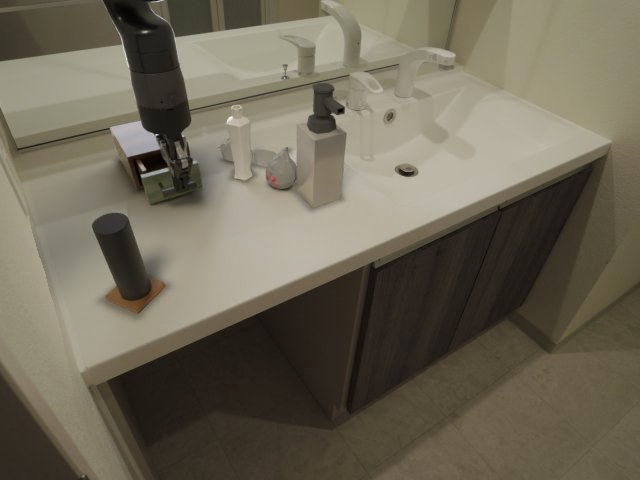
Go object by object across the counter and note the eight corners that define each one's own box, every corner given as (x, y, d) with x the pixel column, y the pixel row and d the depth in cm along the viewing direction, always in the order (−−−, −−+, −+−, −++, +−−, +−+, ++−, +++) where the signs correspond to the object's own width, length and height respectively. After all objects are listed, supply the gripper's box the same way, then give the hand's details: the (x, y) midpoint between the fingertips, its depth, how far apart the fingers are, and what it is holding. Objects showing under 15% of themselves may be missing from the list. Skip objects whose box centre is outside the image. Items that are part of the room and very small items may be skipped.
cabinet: (194, 174, 87) (188, 142, 82) (137, 190, 82) (127, 157, 77) (172, 146, 95) (165, 115, 90) (120, 159, 90) (109, 127, 85)
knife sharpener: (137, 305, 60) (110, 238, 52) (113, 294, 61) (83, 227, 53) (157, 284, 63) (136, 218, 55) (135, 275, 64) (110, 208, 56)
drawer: (211, 199, 80) (206, 173, 76) (156, 216, 75) (148, 189, 71) (181, 159, 90) (176, 134, 86) (131, 172, 85) (123, 147, 81)
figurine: (257, 186, 85) (255, 152, 79) (281, 173, 89) (281, 139, 84) (280, 200, 82) (279, 164, 76) (304, 185, 86) (305, 151, 80)
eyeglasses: (218, 159, 92) (217, 142, 89) (232, 144, 98) (231, 128, 96) (279, 169, 90) (279, 152, 88) (289, 153, 96) (289, 137, 94)
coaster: (137, 314, 60) (136, 310, 59) (106, 299, 62) (104, 296, 61) (165, 286, 64) (164, 282, 64) (135, 273, 66) (133, 270, 65)
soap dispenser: (318, 215, 79) (324, 103, 64) (296, 191, 84) (296, 82, 70) (347, 205, 81) (358, 95, 67) (323, 182, 87) (329, 76, 72)
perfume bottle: (258, 171, 89) (253, 104, 79) (248, 182, 86) (242, 113, 76) (238, 167, 90) (231, 100, 80) (228, 177, 87) (220, 109, 77)
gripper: (124, 84, 65) (150, 177, 77) (148, 118, 57) (173, 216, 69) (171, 76, 68) (189, 167, 80) (201, 107, 60) (216, 203, 72)
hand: (182, 189), depth 74 cm, fingers closed
